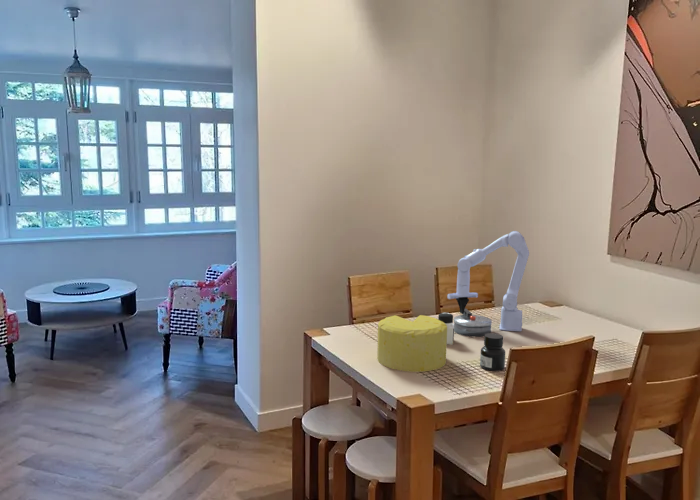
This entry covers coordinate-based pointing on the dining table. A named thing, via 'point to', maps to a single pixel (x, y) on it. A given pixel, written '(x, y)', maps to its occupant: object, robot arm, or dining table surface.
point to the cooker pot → (471, 330)
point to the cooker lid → (472, 320)
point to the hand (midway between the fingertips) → (461, 313)
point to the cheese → (412, 343)
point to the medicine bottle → (448, 326)
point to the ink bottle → (492, 352)
